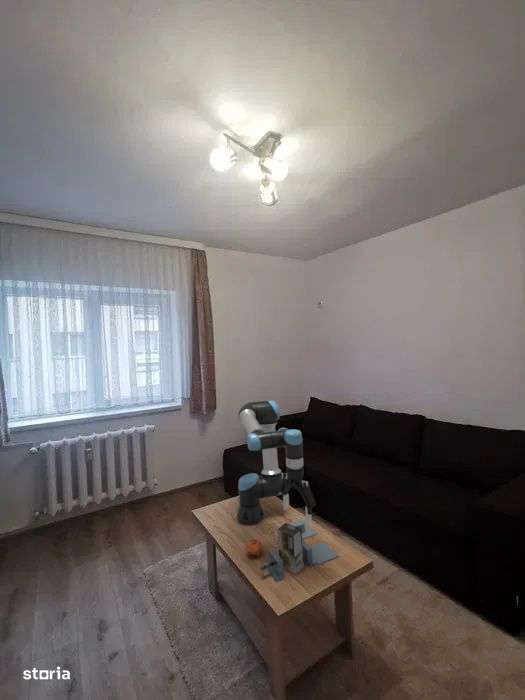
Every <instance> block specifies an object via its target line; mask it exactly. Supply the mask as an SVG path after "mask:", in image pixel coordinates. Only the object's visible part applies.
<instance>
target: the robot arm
mask: <svg viewBox="0 0 525 700" xmlns="http://www.w3.org/2000/svg"><path fill="white" fill-rule="evenodd" d="M280 416H281V415H280V407H279V405H278V404H277V402H276V401H275V400H269V399H268V400H258V401H249V402H247V403H246V404H243V406H242V407H240V409H239V410H238V413H237V419H238V421H239V423H240V424H241V425H242V426H243V427H244V429H245V431H246V433H247V436H246V437H247V438H246V443H247V448H248V450H249V451H251V452H252V451H253V452H254V451H256V452H257V451H258V452H259V451H262V463H263V469H262V470H261V475H258V473H255V472H254V473H253V472H251V473H247V474H243V475H242V476H241V477H240V478H239V480H238V486H237V487H238V499H239V506H238V509H237V514H236V519H237V523H239V524H241V525H244V526H253V525H257V524H259V523H261V522H262V521H263V520H264V518H265V513H264V511H263V507H262V505H261V499H265V498H272V497H277V496H282V501H283V510H284V511H286V510H288V509H290V496H289V491H290V490H291V488H293V489H295V490H297V492H298V493H299V494H300V496H301V498H302V500H303V502H304V503H305V506H304V508H305V522H306V523H308V524H309V523H310V522H311V521H313V520H312V514H313V508H314V507H315V506H317V504H316V500H315V496H314V495H313V492H312V490H311V487H310V482H309V480H304V478H303V477H304V475H305V471H304V469H305V467H304V457H303V456H304V452H303V449H304V448H303V447H304V446H303V434H302V432H301V430H299V429H289V428H286V427H281V428H279V429H278V430H276V425H277V424H278V420H280V418H281V417H280ZM277 448H285V464H286V468H285V469H286V472H285V473H283V472H282V469H280V468H279V459H278V449H277Z"/></svg>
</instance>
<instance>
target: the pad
mask: <svg viewBox="0 0 525 700" xmlns="http://www.w3.org/2000/svg"><path fill="white" fill-rule="evenodd" d="M310 547H311V548H312V557H313V558H314V559H315V560H316V561H317V566H321V565H323V564H325V563H327V562H330V561H333V560H335V559H337V558H339V557H340V556H339V554H338V553H337V552H336V551H334V549H332V548H331V547H330V546H329V545H328V544H327V543H326V542H325V541H323V542H320V543H317V544H315V545H313V546H310Z"/></svg>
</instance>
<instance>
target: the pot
mask: <svg viewBox="0 0 525 700" xmlns="http://www.w3.org/2000/svg"><path fill="white" fill-rule="evenodd" d="M263 548H264V546H263V542H261V540H259V539H257V538H252V539H251V540H250V541H248V542H247V544H246V545H245V550H246V552H247V555H248V556H250V555H251V556H253V555H254V556H255V555H256V556H257V558H259V557H260V553H261V552H262V550H263Z"/></svg>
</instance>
